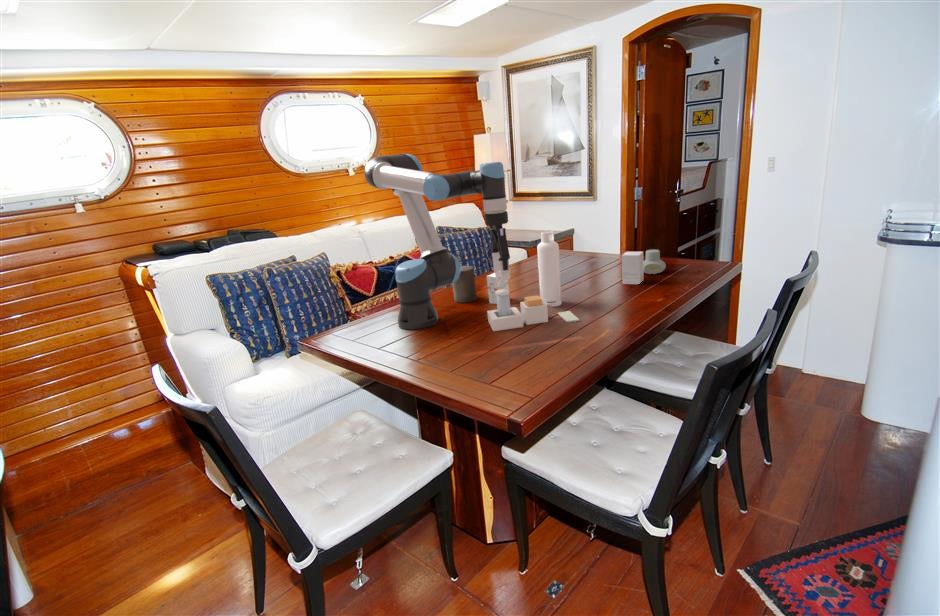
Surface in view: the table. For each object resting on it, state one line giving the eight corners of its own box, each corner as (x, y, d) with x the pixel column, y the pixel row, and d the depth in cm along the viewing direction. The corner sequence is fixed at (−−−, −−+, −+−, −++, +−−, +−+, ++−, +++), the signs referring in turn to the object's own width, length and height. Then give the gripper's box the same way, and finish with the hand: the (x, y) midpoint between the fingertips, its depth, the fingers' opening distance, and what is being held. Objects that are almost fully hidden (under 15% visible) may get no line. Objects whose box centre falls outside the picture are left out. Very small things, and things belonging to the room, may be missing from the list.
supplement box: (644, 280, 205) (644, 251, 201) (639, 285, 199) (639, 255, 195) (626, 279, 209) (626, 251, 205) (621, 284, 203) (621, 254, 199)
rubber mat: (551, 325, 165) (551, 323, 165) (543, 316, 174) (543, 314, 174) (579, 321, 166) (579, 319, 166) (569, 312, 175) (569, 310, 175)
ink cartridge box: (500, 297, 203) (497, 263, 198) (510, 298, 200) (507, 264, 195) (488, 303, 196) (485, 268, 192) (498, 304, 193) (495, 269, 189)
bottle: (552, 308, 182) (548, 235, 174) (536, 304, 188) (531, 233, 180) (565, 302, 187) (562, 231, 178) (550, 299, 193) (546, 230, 184)
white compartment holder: (493, 333, 163) (492, 314, 161) (488, 324, 173) (486, 305, 170) (549, 325, 165) (548, 306, 163) (541, 316, 175) (539, 298, 172)
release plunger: (529, 323, 166) (527, 301, 164) (525, 318, 171) (524, 297, 169) (543, 321, 167) (542, 299, 164) (539, 316, 172) (538, 295, 169)
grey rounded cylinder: (500, 327, 165) (496, 293, 162) (497, 322, 170) (494, 290, 166) (513, 325, 166) (510, 291, 162) (510, 320, 170) (507, 288, 167)
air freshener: (639, 275, 213) (639, 253, 210) (639, 270, 220) (639, 249, 217) (666, 274, 209) (666, 252, 206) (665, 270, 217) (665, 248, 214)
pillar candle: (480, 299, 202) (476, 265, 198) (458, 304, 199) (454, 269, 195) (471, 295, 211) (468, 261, 207) (451, 299, 208) (447, 265, 204)
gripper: (515, 213, 145) (521, 281, 151) (499, 207, 168) (505, 266, 175) (491, 217, 144) (498, 285, 150) (478, 209, 168) (484, 269, 174)
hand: (501, 275), depth 162 cm, fingers open, 13 cm apart
